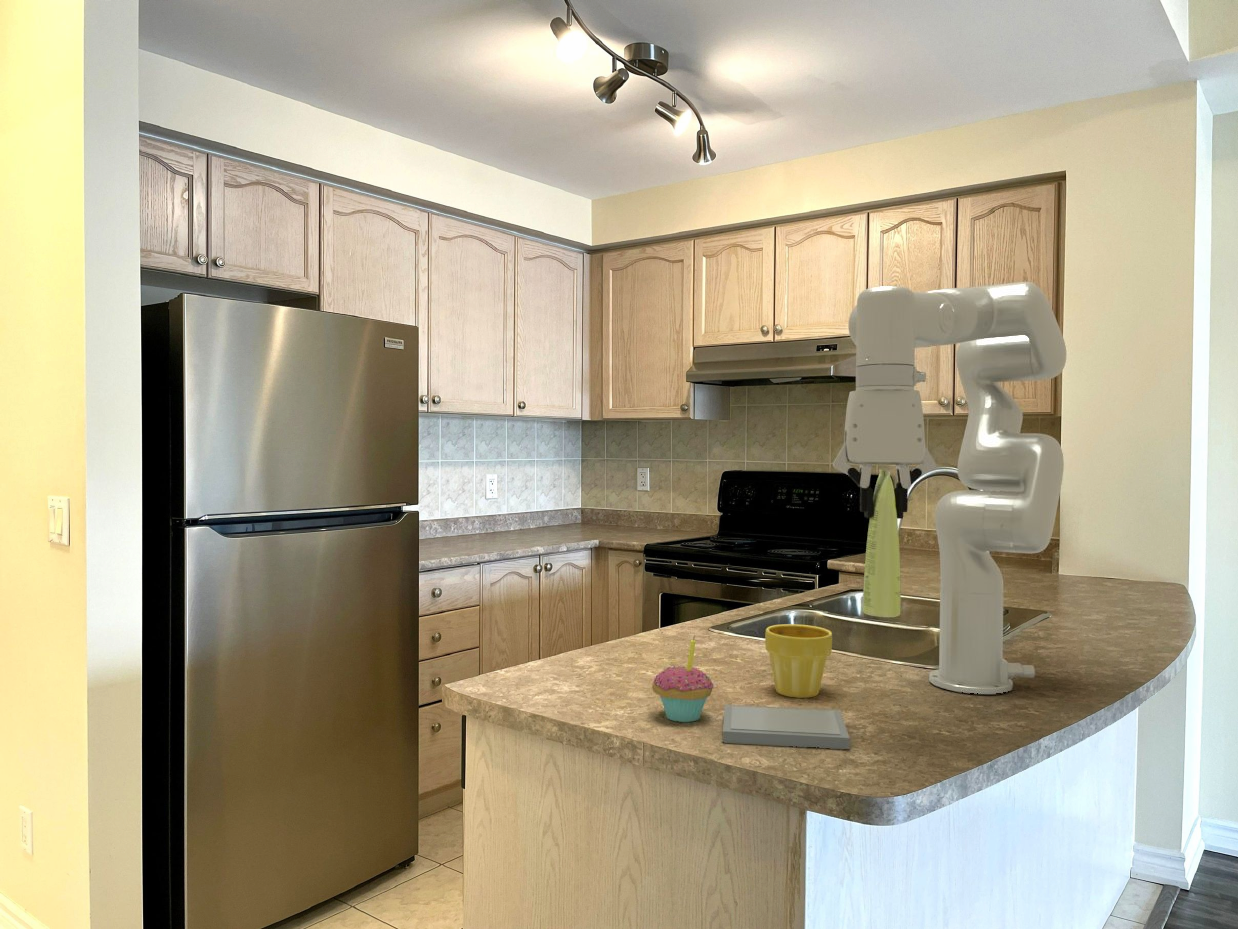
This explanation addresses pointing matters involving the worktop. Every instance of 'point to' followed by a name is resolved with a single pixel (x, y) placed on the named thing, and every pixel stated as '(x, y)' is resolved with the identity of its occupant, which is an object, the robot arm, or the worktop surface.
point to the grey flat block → (785, 727)
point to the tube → (882, 554)
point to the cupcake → (683, 690)
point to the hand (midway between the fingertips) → (883, 516)
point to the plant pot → (798, 658)
